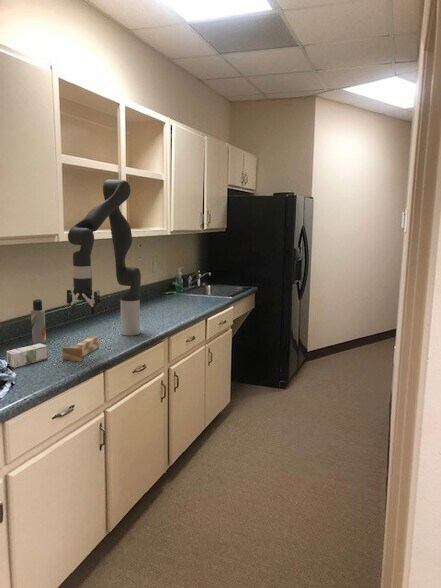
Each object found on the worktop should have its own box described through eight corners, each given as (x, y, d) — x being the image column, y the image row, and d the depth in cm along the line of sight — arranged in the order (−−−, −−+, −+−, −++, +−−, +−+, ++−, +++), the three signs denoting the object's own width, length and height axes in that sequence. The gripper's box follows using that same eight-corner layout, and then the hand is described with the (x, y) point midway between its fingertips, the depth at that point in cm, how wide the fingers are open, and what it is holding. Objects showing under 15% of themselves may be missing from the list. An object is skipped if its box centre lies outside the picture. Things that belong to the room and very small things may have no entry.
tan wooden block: (87, 346, 204) (87, 335, 203) (103, 348, 202) (103, 337, 202) (62, 359, 186) (62, 347, 185) (80, 361, 184) (80, 349, 183)
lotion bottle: (47, 341, 210) (46, 298, 207) (43, 344, 205) (41, 301, 201) (35, 341, 210) (33, 298, 207) (30, 344, 205) (28, 300, 201)
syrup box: (39, 342, 188) (5, 350, 177) (47, 345, 184) (13, 354, 173) (40, 356, 189) (6, 364, 178) (48, 359, 185) (14, 368, 174)
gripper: (102, 276, 191) (103, 313, 194) (72, 274, 194) (73, 311, 197) (93, 278, 184) (94, 317, 187) (62, 276, 187) (63, 315, 190)
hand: (83, 314), depth 192 cm, fingers open, 8 cm apart
